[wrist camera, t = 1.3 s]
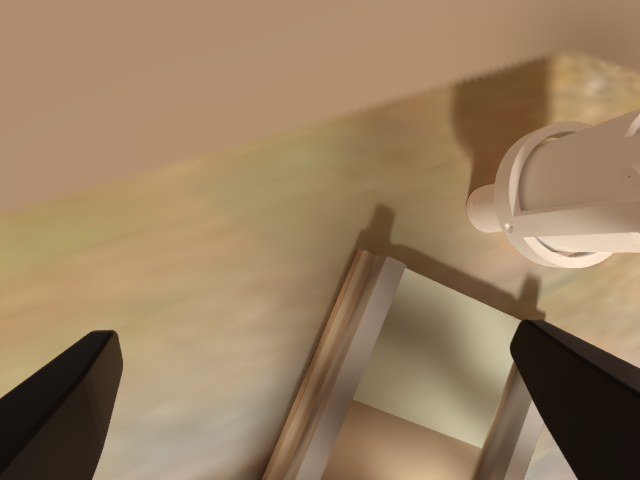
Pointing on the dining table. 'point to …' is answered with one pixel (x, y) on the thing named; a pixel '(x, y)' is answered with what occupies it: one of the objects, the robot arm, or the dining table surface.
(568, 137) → the beige tall round piece
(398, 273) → the rail board
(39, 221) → the dining table surface
